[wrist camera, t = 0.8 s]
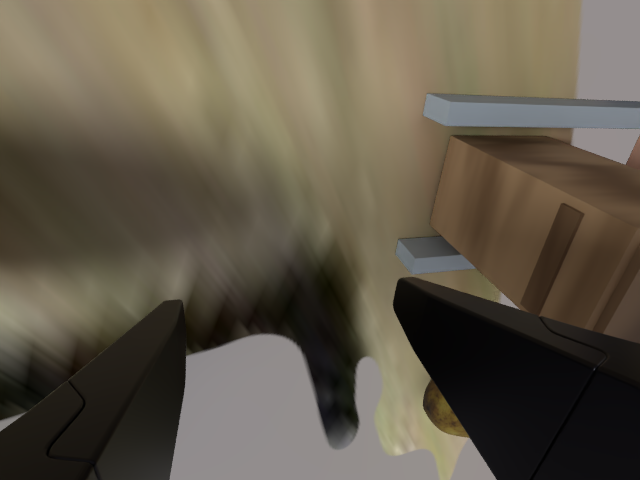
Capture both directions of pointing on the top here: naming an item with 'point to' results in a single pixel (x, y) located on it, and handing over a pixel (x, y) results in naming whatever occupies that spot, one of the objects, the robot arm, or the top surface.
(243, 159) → the top surface
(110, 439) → the robot arm
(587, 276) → the crate
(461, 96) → the blue-gray angular pronged part
